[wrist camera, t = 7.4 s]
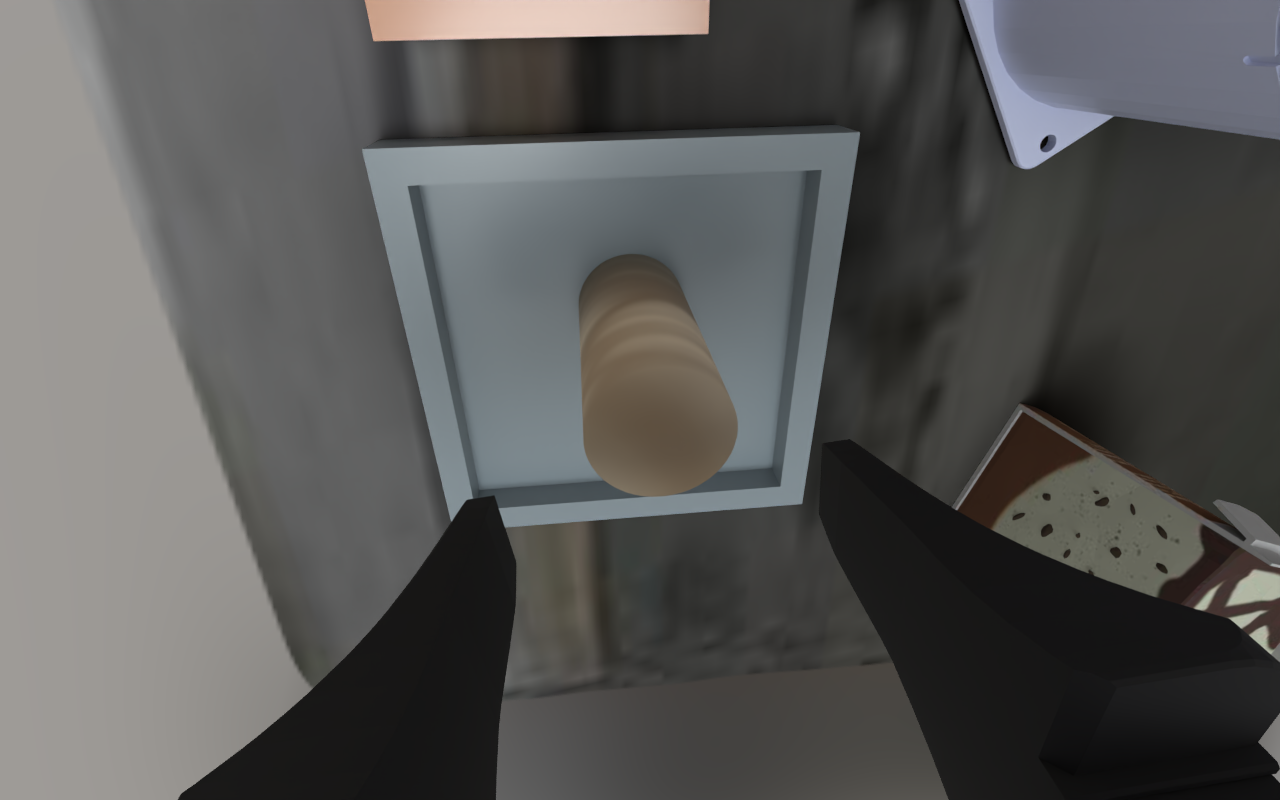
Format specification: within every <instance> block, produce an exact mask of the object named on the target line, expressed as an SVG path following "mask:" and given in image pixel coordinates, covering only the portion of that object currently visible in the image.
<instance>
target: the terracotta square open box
mask: <svg viewBox="0 0 1280 800" xmlns="http://www.w3.org/2000/svg"><path fill="white" fill-rule="evenodd" d="M709 2H710V0H365V3H366V7H367V12H368V17H369V22H370V26H371V31H372V36H373V40H374V41H418V40H465V39H511V38H558V37H605V36H652V35H692V34H708V31H709Z"/></svg>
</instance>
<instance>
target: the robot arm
mask: <svg viewBox="0 0 1280 800" xmlns="http://www.w3.org/2000/svg"><path fill="white" fill-rule="evenodd" d="M959 3H960V6H961V9H962V12H963V15H964V18H965V21H966V24H967V27H968V30H969V33H970V36H971V39H972V42H973V45H974V48H975V51H976V54H977V57H978V60H979V64H980V67H981V70H982V73H983V76H984V79H985V82H986V85H987V88H988V91H989V94H990V97H991V100H992V103H993V106H994V109H995V112H996V115H997V118H998V121H999V124H1000V127H1001V130H1002V133H1003V136H1004V140H1005V143H1006V146H1007V149H1008V152H1009V155H1010V158H1011V161H1012V162H1013V164H1014V165H1015V166H1017V167H1019V168H1022V169H1031V168H1034V167H1036V166H1037V165H1039V164H1041V163H1042V162H1044V161H1045V160H1047V159H1048V158H1050V157H1051V156H1053V155H1055V154H1056V153H1058V152H1059V151H1061V150H1062V149H1064V148H1065V147H1067V146H1069V145H1070V144H1072V143H1073V142H1075V141H1076V140H1078V139H1079V138H1081V137H1083V136H1084V135H1086V134H1087V133H1089V132H1090V131H1092V130H1093V129H1095V128H1097V127H1098V126H1100V125H1101V124H1103V123H1104V122H1106V121H1107V120H1109V119H1111V118H1112V117H1114V116H1119V117H1126V118H1133V119H1140V120H1147V121H1154V122H1161V123H1168V124H1175V125H1182V126H1189V127H1196V128H1203V129H1210V130H1217V131H1224V132H1231V133H1238V134H1245V135H1252V136H1259V137H1266V138H1273V139H1280V0H959ZM1046 136H1048V142H1047V144H1046V146H1045V147H1044V148H1043V149H1040V144H1041V141H1042V140H1043V139H1044V138H1045V137H1046ZM819 515H820V518H821V520H822V523H823V526H824V528H825V531H826V534H827V536H828V539H829V541H830V544H831V546H832V549H833V551H834V554H835V556H836V557H837V559H838V561H839V563H840V565H841V567H842V569H843V571H844V572H845V574H846V576H847V578H848V580H849V582H850V583H851V585H852V587H853V589H854V591H855V592H856V594H857V596H858V598H859V600H860V601H861V603H862V605H863V607H864V609H865V610H866V612H867V614H868V616H869V618H870V619H871V621H872V623H873V625H874V627H875V628H876V630H877V632H878V634H879V636H880V638H881V639H882V641H883V643H884V645H885V647H886V649H887V651H888V653H889V655H890V657H891V659H892V661H893V663H894V665H895V668H896V670H897V672H898V674H899V677H900V679H901V682H902V684H903V686H904V689H905V691H906V693H907V696H908V698H909V700H910V703H911V705H912V708H913V710H914V712H915V715H916V717H917V720H918V722H919V725H920V727H921V730H922V732H923V735H924V737H925V740H926V742H927V744H928V747H929V749H930V752H931V754H932V757H933V759H934V762H935V765H936V767H937V770H938V773H939V775H940V778H941V781H942V783H943V786H944V788H945V791H946V794H947V796H948V799H949V800H1280V783H1279V782H1278V781H1277V780H1276V779H1275V777H1274V776H1272V774H1276V773H1277V772H1278V771H1279V769H1280V768H1279V765H1278V762H1277V761H1276V760H1275V759H1274V758H1273V757H1272V756H1271V755H1270V754H1269V753H1268V752H1267V751H1266V750H1265V749H1264V748H1263V747H1262V746H1261V745H1260V744H1259V743H1258V741H1259V740H1260V739H1261V737H1262V736H1263V735H1264V733H1265V732H1266V731H1267V729H1268V728H1269V727H1270V725H1271V724H1272V723H1273V721H1274V720H1275V719H1276V717H1277V716H1278V715H1279V713H1280V662H1279V661H1278V660H1277V659H1276V658H1274V657H1273V656H1272V655H1271V654H1270V653H1269V652H1268V651H1266V650H1265V649H1264V648H1263V647H1262V646H1261V645H1260V644H1258V643H1257V642H1256V641H1255V640H1254V639H1253V638H1252V637H1250V636H1249V635H1248V634H1247V633H1246V632H1245V631H1244V630H1243V629H1241V628H1240V627H1239V626H1238V625H1237V624H1235V623H1234V622H1233V621H1232V620H1231V619H1229V618H1225V617H1222V616H1218V615H1215V614H1212V613H1208V612H1205V611H1201V610H1198V609H1194V608H1191V607H1188V606H1184V605H1181V604H1177V603H1174V602H1171V601H1167V600H1164V599H1160V598H1157V597H1154V596H1151V595H1148V594H1145V593H1142V592H1139V591H1136V590H1133V589H1130V588H1128V587H1125V586H1122V585H1119V584H1116V583H1113V582H1110V581H1107V580H1105V579H1102V578H1100V577H1097V576H1094V575H1092V574H1089V573H1086V572H1084V571H1081V570H1079V569H1076V568H1074V567H1071V566H1069V565H1067V564H1064V563H1062V562H1060V561H1057V560H1055V559H1052V558H1050V557H1048V556H1045V555H1043V554H1041V553H1038V552H1036V551H1034V550H1032V549H1030V548H1027V547H1025V546H1023V545H1021V544H1019V543H1017V542H1015V541H1013V540H1011V539H1009V538H1007V537H1005V536H1003V535H1001V534H999V533H997V532H995V531H993V530H991V529H989V528H987V527H985V526H984V525H982V524H980V523H978V522H976V521H974V520H973V519H971V518H969V517H967V516H966V515H964V514H962V513H961V512H959V511H957V510H955V509H954V508H952V507H950V506H949V505H947V504H945V503H944V502H942V501H940V500H939V499H937V498H936V497H934V496H932V495H931V494H929V493H928V492H926V491H925V490H923V489H921V488H920V487H918V486H917V485H915V484H914V483H912V482H911V481H909V480H908V479H906V478H905V477H903V476H902V475H901V474H899V473H898V472H896V471H895V470H893V469H892V468H890V467H889V466H888V465H886V464H885V463H883V462H882V461H880V460H879V459H878V458H876V457H875V456H873V455H872V454H871V453H869V452H868V451H866V450H865V449H863V448H862V447H861V446H859V445H858V444H856V443H855V442H853V441H852V440H850V439H848V440H841V441H835V442H829V443H822V460H821V482H820V505H819ZM515 605H516V560H515V557H514V554H513V551H512V548H511V545H510V542H509V539H508V535H507V532H506V529H505V526H504V523H503V520H502V517H501V514H500V511H499V508H498V504H497V501H496V498H495V495H493V496H487V497H481V498H474V499H468V500H466V501H465V502H464V504H463V505H462V507H461V508H460V510H459V511H458V513H457V514H456V516H455V517H454V519H453V520H452V522H451V523H450V525H449V526H448V528H447V529H446V531H445V532H444V534H443V535H442V537H441V538H440V540H439V541H438V543H437V544H436V546H435V547H434V549H433V550H432V552H431V553H430V555H429V556H428V557H427V559H426V560H425V562H424V563H423V564H422V566H421V567H420V569H419V570H418V572H417V573H416V574H415V576H414V577H413V578H412V580H411V581H410V582H409V584H408V585H407V586H406V588H405V589H404V590H403V591H402V593H401V594H400V595H399V597H398V598H397V599H396V600H395V602H394V603H393V604H392V606H391V607H390V608H389V609H388V611H387V612H386V613H385V614H384V615H383V617H382V618H381V619H380V620H379V621H378V623H377V624H376V625H375V626H374V627H373V628H372V629H371V631H370V632H369V633H368V634H367V635H366V636H365V637H364V638H363V639H362V640H361V642H360V643H359V644H358V645H357V646H356V647H355V648H354V649H353V650H352V651H351V652H350V653H349V654H348V655H347V656H346V657H345V658H344V659H343V660H342V661H341V662H340V663H339V664H338V665H337V666H336V667H335V668H334V669H333V670H332V671H331V672H330V673H329V674H328V675H327V676H326V677H325V678H323V679H322V680H321V681H320V682H319V683H318V684H317V685H316V686H315V687H314V688H313V689H312V690H311V691H310V692H309V693H308V694H307V695H306V696H305V697H303V698H302V699H301V700H300V701H299V702H298V703H297V704H296V705H294V706H293V707H292V708H291V709H290V710H289V711H287V712H286V713H285V714H284V715H283V716H282V717H280V718H279V719H278V720H277V721H276V722H274V723H273V724H272V725H271V726H270V727H268V728H267V729H266V730H265V731H264V732H262V733H261V734H260V735H259V736H258V737H257V738H255V739H254V740H253V741H251V742H250V743H249V744H247V745H246V746H245V747H244V748H243V749H241V750H240V751H239V752H237V753H236V754H235V755H233V756H232V757H230V758H229V759H228V760H227V761H225V762H224V763H223V764H221V765H220V766H218V767H217V768H216V769H214V770H213V771H212V772H210V773H209V774H208V775H206V776H205V777H204V778H202V779H201V780H200V781H198V782H197V783H196V784H195V785H193V786H192V787H190V788H189V789H187V790H186V791H184V792H183V793H182V794H181V795H180V797H179V799H178V800H496V774H497V754H498V733H499V732H498V731H499V721H500V711H501V703H502V696H503V689H504V682H505V676H506V669H507V662H508V655H509V649H510V642H511V635H512V628H513V621H514V613H515Z"/></svg>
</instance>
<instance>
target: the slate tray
mask: <svg viewBox="0 0 1280 800" xmlns="http://www.w3.org/2000/svg"><path fill="white" fill-rule="evenodd" d="M859 137H860V132H858V131H855V130H852V129H849V128H846V127H843V126H840V125H810V126H780V127H749V128H719V129H688V130H658V131H627V132H597V133H566V134H536V135H505V136H475V137H444V138H414V139H383V140H378V141H376V142H374V143H373V144H371V145H369V146H367V147H365V148H363V149H362V152H363V156H364V160H365V164H366V168H367V172H368V177H369V181H370V185H371V189H372V193H373V197H374V202H375V206H376V210H377V214H378V218H379V222H380V227H381V231H382V235H383V239H384V243H385V247H386V252H387V256H388V260H389V264H390V268H391V272H392V277H393V281H394V285H395V289H396V293H397V297H398V302H399V306H400V310H401V314H402V318H403V322H404V327H405V331H406V335H407V339H408V343H409V347H410V352H411V356H412V360H413V364H414V368H415V372H416V377H417V381H418V385H419V389H420V393H421V397H422V402H423V406H424V410H425V414H426V418H427V422H428V427H429V431H430V435H431V439H432V443H433V447H434V452H435V456H436V460H437V464H438V468H439V473H440V477H441V481H442V485H443V489H444V493H445V498H446V502H447V506H448V510H449V514H450V518H451V522H452V520H453V519H454V517H455V516H456V514H457V513H458V511H459V510H460V508H461V507H462V505H463V504H464V502H465V501H466V500H468V499H474V498H481V497H487V496H493V495H495V498H496V501H497V504H498V508H499V511H500V514H501V517H502V520H503V523H504V526H505V527H516V526H529V525H541V524H554V523H567V522H579V521H592V520H605V519H617V518H630V517H643V516H655V515H668V514H681V513H693V512H706V511H719V510H731V509H744V508H757V507H769V506H782V505H795V504H802V500H803V494H804V487H805V481H806V475H807V468H808V462H809V456H810V449H811V443H812V436H813V430H814V424H815V417H816V411H817V405H818V398H819V392H820V385H821V379H822V373H823V366H824V360H825V354H826V347H827V341H828V335H829V328H830V322H831V315H832V309H833V303H834V296H835V290H836V284H837V277H838V271H839V264H840V258H841V252H842V245H843V239H844V233H845V226H846V220H847V214H848V207H849V201H850V194H851V188H852V182H853V175H854V169H855V163H856V156H857V150H858V143H859ZM625 254H639V255H645V256H649V257H651V258H654V259H656V260H658V261H660V262H661V263H663V264H664V265H665V266H667V267H668V268H669V269H670V270H671V271H672V273H673V274H674V275H675V277H676V278H677V280H678V282H679V284H680V287H681V289H682V291H683V293H684V295H685V298H686V300H687V302H688V304H689V307H690V309H691V311H692V313H693V316H694V318H695V320H696V322H697V325H698V327H699V329H700V331H701V334H702V336H703V338H704V340H705V342H706V345H707V347H708V349H709V351H710V354H711V356H712V358H713V360H714V363H715V365H716V367H717V369H718V372H719V374H720V376H721V378H722V381H723V383H724V385H725V387H726V390H727V392H728V394H729V396H730V398H731V401H732V403H733V405H734V408H735V411H736V415H737V420H738V432H737V439H736V442H735V446H734V448H733V450H732V453H731V455H730V456H729V458H728V459H727V461H726V462H725V464H724V465H723V466H722V467H721V469H719V470H718V471H717V472H716V473H715V474H714V475H713V476H712V477H711V478H709V479H708V480H707V481H705V482H703V483H702V484H700V485H699V486H696V487H694V488H692V489H690V490H687V491H685V492H682V493H678V494H674V495H669V496H660V497H648V496H639V495H634V494H630V493H627V492H624V491H622V490H619V489H617V488H615V487H613V486H612V485H610V484H609V483H607V482H606V481H604V480H603V479H602V478H601V477H600V476H599V475H598V474H597V473H596V472H595V470H594V469H593V468H592V466H591V464H590V463H589V461H588V459H587V456H586V453H585V449H584V444H583V417H582V388H581V358H580V329H579V296H580V292H581V289H582V286H583V284H584V282H585V280H586V278H587V277H588V276H589V274H590V273H591V272H592V271H593V270H594V269H595V268H596V267H597V266H599V265H600V264H601V263H603V262H605V261H606V260H608V259H611V258H613V257H616V256H620V255H625Z"/></svg>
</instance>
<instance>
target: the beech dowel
mask: <svg viewBox="0 0 1280 800" xmlns="http://www.w3.org/2000/svg"><path fill="white" fill-rule="evenodd" d="M579 329H580V358H581V388H582V417H583V444H584V449H585V453H586V456H587V459H588V461H589V463H590V464H591V466H592V468H593V469H594V470H595V472H596V473H597V474H598V475H599V476H600V477H601V478H602V479H603V480H604V481H606V482H607V483H609V484H610V485H612V486H613V487H615V488H617V489H619V490H622V491H624V492H627V493H630V494H634V495H639V496H648V497H660V496H669V495H674V494H678V493H682V492H685V491H687V490H690V489H692V488H694V487H696V486H699V485H700V484H702V483H703V482H705V481H707V480H708V479H709V478H711V477H712V476H713V475H714V474H715V473H716V472H717V471H718V470H719V469H721V467H722V466H723V465H724V464H725V462H726V461H727V459H728V458H729V456H730V455H731V453H732V450H733V448H734V446H735V442H736V439H737V432H738V420H737V415H736V411H735V408H734V405H733V403H732V401H731V398H730V396H729V394H728V392H727V390H726V387H725V385H724V383H723V381H722V378H721V376H720V374H719V372H718V369H717V367H716V365H715V363H714V360H713V358H712V356H711V354H710V351H709V349H708V347H707V345H706V342H705V340H704V338H703V336H702V334H701V331H700V329H699V327H698V325H697V322H696V320H695V318H694V316H693V313H692V311H691V309H690V307H689V304H688V302H687V300H686V298H685V295H684V293H683V291H682V289H681V287H680V284H679V282H678V280H677V278H676V277H675V275H674V274H673V273H672V271H671V270H670V269H669V268H668V267H667V266H665V265H664V264H663V263H661V262H660V261H658V260H656V259H654V258H651V257H649V256H645V255H639V254H625V255H620V256H616V257H613V258H611V259H608V260H606V261H605V262H603V263H601V264H600V265H599V266H597V267H596V268H595V269H594V270H593V271H592V272H591V273H590V274H589V276H588V277H587V278H586V280H585V282H584V284H583V286H582V289H581V292H580V296H579Z"/></svg>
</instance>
